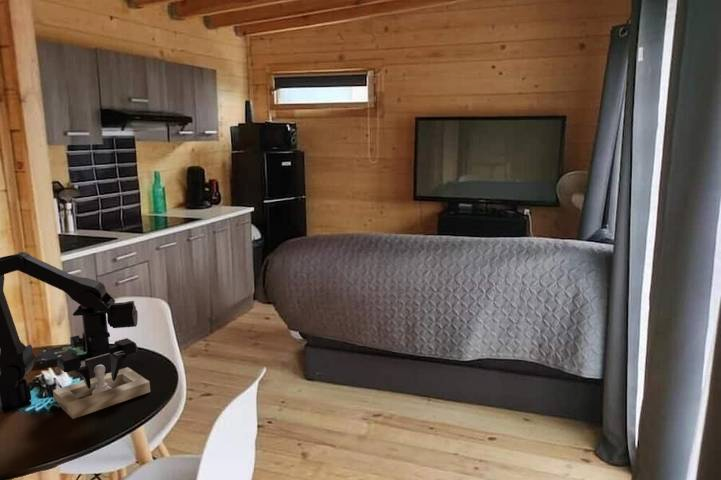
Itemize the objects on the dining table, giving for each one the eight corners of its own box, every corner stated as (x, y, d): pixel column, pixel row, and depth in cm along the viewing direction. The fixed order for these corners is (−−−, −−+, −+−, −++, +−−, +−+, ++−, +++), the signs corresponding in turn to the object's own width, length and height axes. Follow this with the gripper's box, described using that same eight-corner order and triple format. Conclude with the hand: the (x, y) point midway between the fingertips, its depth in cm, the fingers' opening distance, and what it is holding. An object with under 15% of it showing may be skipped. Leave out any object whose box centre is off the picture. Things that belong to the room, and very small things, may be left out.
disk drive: (36, 370, 166) (90, 361, 172) (34, 361, 166) (89, 352, 172) (40, 358, 176) (91, 349, 182) (38, 349, 175) (90, 341, 181)
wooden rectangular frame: (72, 419, 136) (71, 408, 135) (54, 400, 146) (52, 390, 145) (150, 391, 150) (149, 381, 149) (128, 376, 160) (127, 367, 159)
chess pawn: (114, 391, 151) (110, 360, 149) (111, 399, 146) (107, 367, 144) (94, 393, 150) (90, 362, 148) (90, 401, 145) (87, 370, 143)
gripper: (118, 314, 156) (123, 365, 159) (46, 331, 143) (53, 386, 146) (135, 323, 149) (140, 376, 152) (61, 341, 135) (68, 400, 138)
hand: (101, 384), depth 147 cm, fingers open, 6 cm apart
